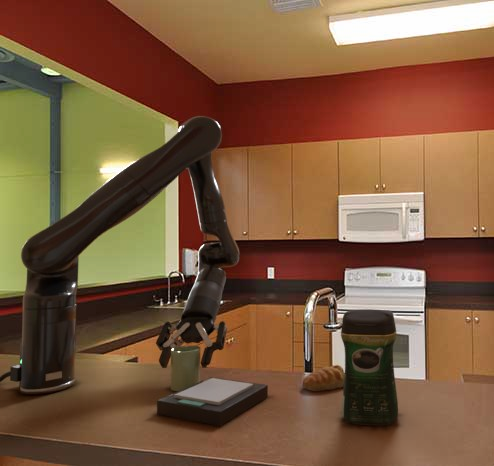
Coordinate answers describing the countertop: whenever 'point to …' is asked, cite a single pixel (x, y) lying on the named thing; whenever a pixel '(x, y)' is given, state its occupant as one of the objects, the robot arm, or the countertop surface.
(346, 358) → the coffee jar
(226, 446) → the countertop surface
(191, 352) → the cup
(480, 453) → the countertop surface
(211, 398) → the scale
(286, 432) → the countertop surface
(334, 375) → the pastry
